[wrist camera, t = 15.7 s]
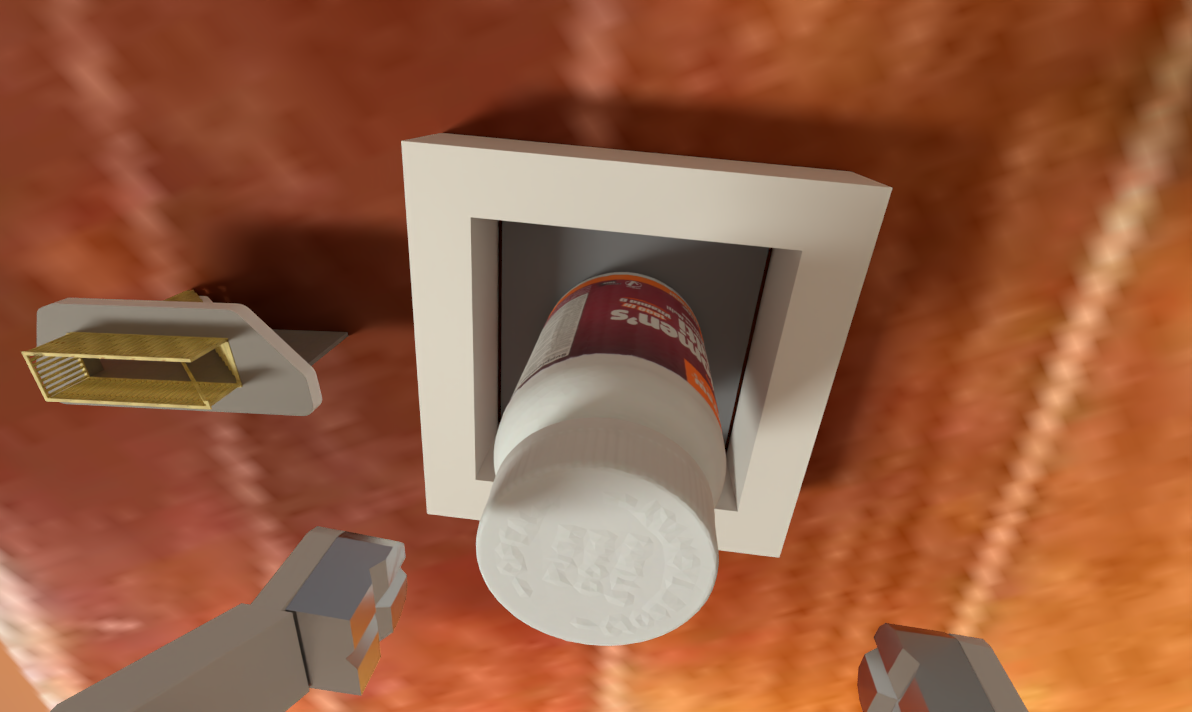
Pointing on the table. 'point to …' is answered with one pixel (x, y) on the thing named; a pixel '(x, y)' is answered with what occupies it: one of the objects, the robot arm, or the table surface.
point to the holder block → (645, 246)
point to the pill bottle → (608, 470)
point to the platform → (175, 356)
